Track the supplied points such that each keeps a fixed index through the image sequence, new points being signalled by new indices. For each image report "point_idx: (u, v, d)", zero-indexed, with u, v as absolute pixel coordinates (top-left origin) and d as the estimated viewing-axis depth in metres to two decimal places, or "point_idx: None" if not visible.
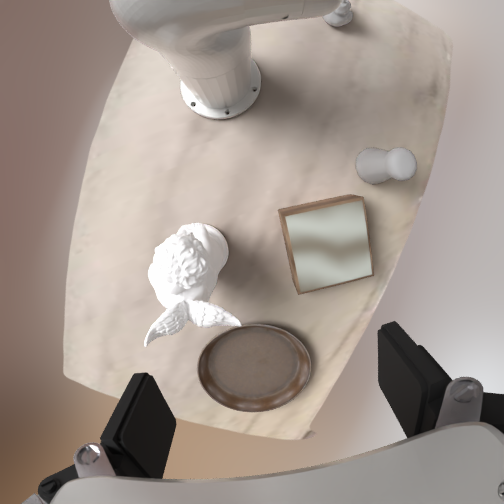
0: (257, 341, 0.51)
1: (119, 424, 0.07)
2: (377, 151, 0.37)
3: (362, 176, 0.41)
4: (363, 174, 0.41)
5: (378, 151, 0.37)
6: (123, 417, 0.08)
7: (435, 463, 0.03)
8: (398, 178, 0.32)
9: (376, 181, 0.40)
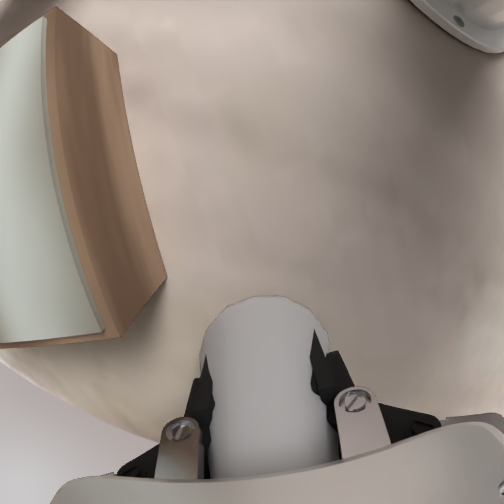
0: None
1: (210, 394, 0.09)
2: None
3: (220, 324, 0.11)
4: (225, 329, 0.11)
5: None
6: (212, 387, 0.09)
7: (435, 463, 0.03)
8: None
9: None
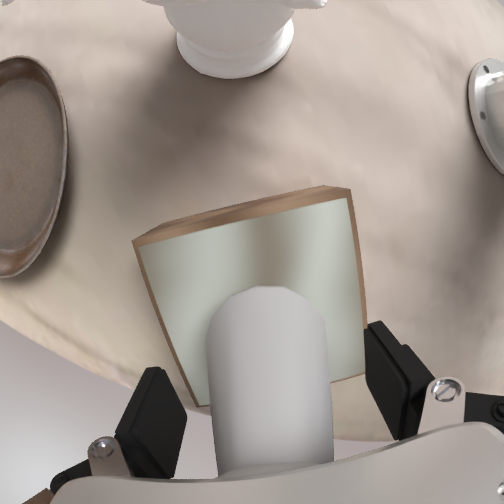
0: (40, 162, 0.19)
1: (134, 417, 0.08)
2: (325, 376, 0.09)
3: (225, 310, 0.13)
4: (230, 314, 0.12)
5: (326, 381, 0.09)
6: (138, 410, 0.08)
7: (435, 463, 0.03)
8: None
9: (209, 362, 0.11)
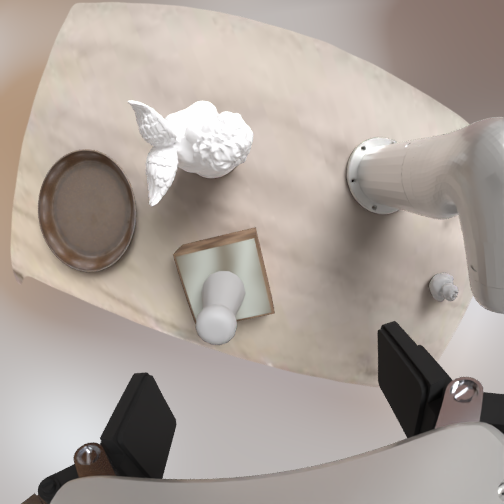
0: (115, 212, 0.45)
1: (119, 424, 0.07)
2: (235, 296, 0.35)
3: (208, 278, 0.38)
4: (209, 279, 0.37)
5: (235, 297, 0.35)
6: (123, 417, 0.08)
7: (435, 463, 0.03)
8: (197, 321, 0.30)
9: (202, 295, 0.37)
